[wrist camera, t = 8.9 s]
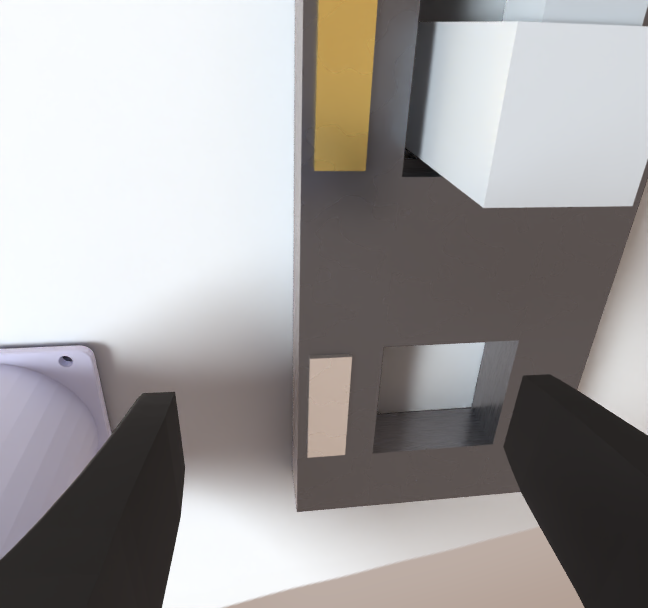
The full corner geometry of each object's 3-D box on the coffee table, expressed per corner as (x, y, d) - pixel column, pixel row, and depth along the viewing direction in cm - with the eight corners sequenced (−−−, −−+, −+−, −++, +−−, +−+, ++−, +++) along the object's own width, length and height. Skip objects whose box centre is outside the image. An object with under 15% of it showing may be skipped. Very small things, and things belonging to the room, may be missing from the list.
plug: (405, 147, 19) (483, 207, 13) (421, -3, 16) (525, -19, 10) (509, 148, 19) (632, 206, 13) (538, 2, 17) (702, -9, 11)
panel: (292, 470, 26) (297, 515, 23) (296, -165, 14) (306, -202, 12) (519, 452, 27) (545, 492, 25) (687, -131, 16) (765, -157, 13)
